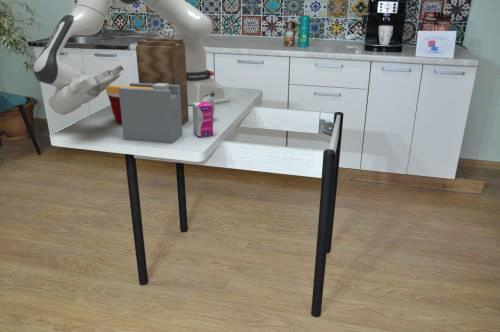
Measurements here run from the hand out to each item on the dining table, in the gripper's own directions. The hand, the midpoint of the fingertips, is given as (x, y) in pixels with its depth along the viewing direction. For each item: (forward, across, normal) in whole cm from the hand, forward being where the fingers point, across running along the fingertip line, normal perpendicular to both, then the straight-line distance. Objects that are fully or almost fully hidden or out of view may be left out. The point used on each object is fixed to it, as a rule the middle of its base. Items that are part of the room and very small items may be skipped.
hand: (115, 69), depth 163 cm
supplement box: (+13, +7, +35) cm, 38 cm away
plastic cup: (-18, +15, +17) cm, 28 cm away
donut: (+10, +22, +33) cm, 41 cm away
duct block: (-1, 0, +26) cm, 26 cm away
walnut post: (-3, +16, +25) cm, 30 cm away
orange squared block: (+2, 0, +11) cm, 11 cm away
